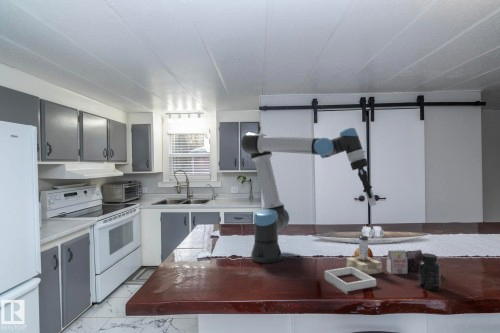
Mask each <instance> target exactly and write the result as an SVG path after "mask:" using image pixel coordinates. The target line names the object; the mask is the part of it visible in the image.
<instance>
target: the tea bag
mask: <svg viewBox="0 0 500 333" xmlns="http://www.w3.org/2000/svg"><path fill="white" fill-rule="evenodd" d="M387 251H388V252H387V256H386V271H387V272H388V273H390V274H391V275H394V274H395V275H397V274H398V275H400V274H401V275H402V274H405V275H407V274H408V271H409V270H408V269H407V258H406V253H405V252H406V249H405V250H404V249H403V250H401V249H400V250H397V249H396V250H387Z"/></svg>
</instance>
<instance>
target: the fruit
mask: <svg viewBox="0 0 500 333" xmlns="http://www.w3.org/2000/svg"><path fill="white" fill-rule="evenodd" d="M353 253H354V257H358V256H359V247H358V248H357V249H355V251H354V252H353ZM368 257H370V258H373V250H372V249H371V248H370V247H369V246H368Z"/></svg>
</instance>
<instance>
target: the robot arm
mask: <svg viewBox="0 0 500 333" xmlns="http://www.w3.org/2000/svg"><path fill="white" fill-rule="evenodd" d="M240 147H241V149H242V150H243V152H245V153H246V154H247V155H250V158H251V161H252V162H254V163H255V169H256V172H257V174H256V175H257V178H258V182H259V185H260V186H259V188H260V191H261V195H262V200H263V207H262V209H259V210H257V211H256V212H254V213H253V214H254V215H253V225H254V226H253V228H254V229H253V230H254V234H253V236H254V244H253V247H252V251H251V253H250V257H251V260H252V261H254V262H256V263H261V264H262V263H263V264H271V263H277V262H280V261H281V260H282V259H283V258H282V257H283V256H282V255H283V254H282V251H281V247H280V244H279V232H280V231H283V230H284V229H285V228H286V227H287V226H288V224H289V223H290V215H289V212H288V210H286V209H285V204H284V203H282V201H281V200H280V195H279V191H278V187H277V184H276V179H275V174H274V170H273V166H272V161H271V157H272V156H273V153H285V154H287V153H289V154H303V155H316V156H317V155H318V156H320V158H322V159H325V158H330V157H333V156H335V155H339V154H340V153H344V152H345V153H346V156H347V159H348V162H350V164H349V165H350V167H351V170H352V171H356V170H357V175H358V178H359V180H360V181H361V183H362V188H363V190H362V192H363V193H365V196H366V199H367V202H368V205H369V206H370V207H372V206H376V205H377V200H376V198H375V195H374V192H373V189H372V188H373V186H372V185H370V182H369V177H368V171H367V170H365V167H367V166H369V163H368V159H367V158H366V155H365V153H366V151H365V150H364V149H363V146H362V142H361V140H360V136H359V135H358V132H357V130H356V128H355V127H348V128H345V129H344V130H342V131H340V132H339V136H338V137H336V138H333V139H329V138H328V137H320V138H319V137H301V136H300V137H295V136H277V135H275V136H272V135H267V134H264V133H258V132H255V131H249V132H246V133H244V135H243V136H242V137H241V139H240ZM272 152H273V153H272Z"/></svg>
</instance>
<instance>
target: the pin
mask: <svg viewBox="0 0 500 333" xmlns="http://www.w3.org/2000/svg"><path fill="white" fill-rule="evenodd" d="M368 247H369V237H368V236H366V235H359V236H358V248H359V261H361V262H368Z"/></svg>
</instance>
